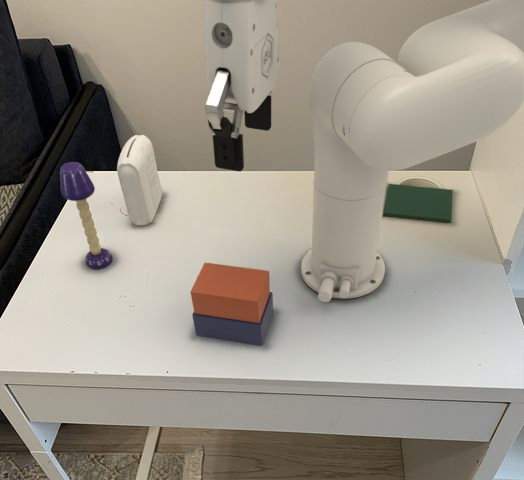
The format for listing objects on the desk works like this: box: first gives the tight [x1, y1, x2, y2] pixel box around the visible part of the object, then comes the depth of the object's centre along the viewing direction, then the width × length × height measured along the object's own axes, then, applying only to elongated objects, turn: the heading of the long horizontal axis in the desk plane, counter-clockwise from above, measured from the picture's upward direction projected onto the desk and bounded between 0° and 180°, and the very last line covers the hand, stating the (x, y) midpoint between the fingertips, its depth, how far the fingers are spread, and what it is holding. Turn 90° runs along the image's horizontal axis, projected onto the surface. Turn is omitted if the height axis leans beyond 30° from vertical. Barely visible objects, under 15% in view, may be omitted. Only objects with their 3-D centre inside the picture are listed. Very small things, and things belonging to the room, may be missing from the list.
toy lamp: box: [59, 161, 114, 270], centre depth 81 cm, size 5×5×17 cm
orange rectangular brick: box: [189, 262, 271, 323], centre depth 72 cm, size 6×9×4 cm, turn 76°
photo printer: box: [116, 134, 163, 226], centre depth 92 cm, size 10×4×12 cm, turn 175°
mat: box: [382, 183, 454, 224], centre depth 94 cm, size 9×11×1 cm
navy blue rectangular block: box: [191, 291, 274, 346], centre depth 75 cm, size 6×10×4 cm
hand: (244, 147), depth 63 cm, fingers open, 9 cm apart
